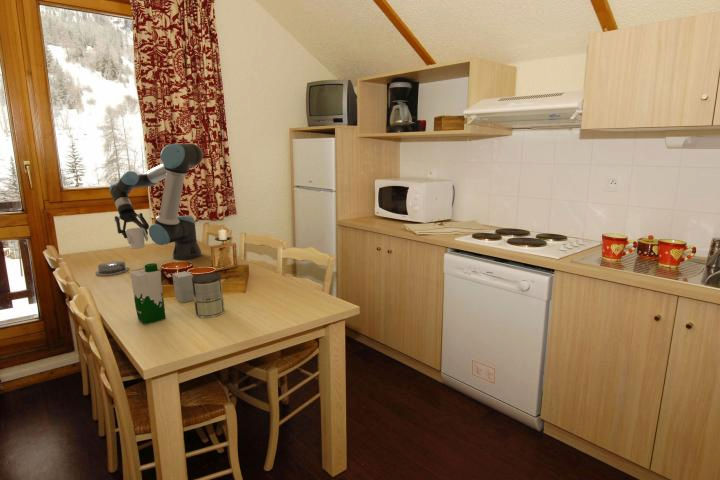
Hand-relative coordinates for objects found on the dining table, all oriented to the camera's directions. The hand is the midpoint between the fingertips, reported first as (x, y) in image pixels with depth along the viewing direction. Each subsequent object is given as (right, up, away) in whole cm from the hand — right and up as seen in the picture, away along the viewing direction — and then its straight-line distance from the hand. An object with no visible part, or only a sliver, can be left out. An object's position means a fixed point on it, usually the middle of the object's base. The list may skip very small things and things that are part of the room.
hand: (138, 240), depth 234 cm
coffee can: (+59, -27, -66) cm, 93 cm away
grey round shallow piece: (-11, -16, -5) cm, 20 cm away
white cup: (-2, -4, +3) cm, 6 cm away
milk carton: (+39, -28, -71) cm, 86 cm away
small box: (+44, -24, -50) cm, 70 cm away
